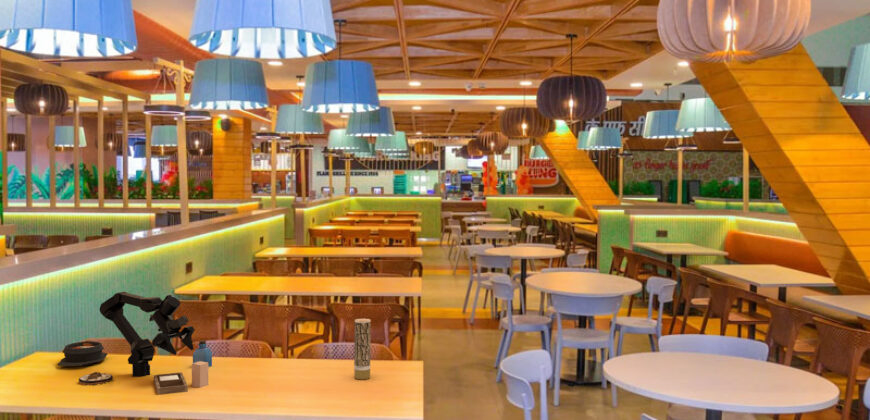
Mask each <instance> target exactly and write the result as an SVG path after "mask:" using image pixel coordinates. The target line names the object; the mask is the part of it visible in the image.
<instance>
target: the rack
mask: <svg viewBox="0 0 870 420" xmlns="http://www.w3.org/2000/svg"><path fill="white" fill-rule="evenodd" d="M172 375H178V378H179V379H173V380H163V381H159V377H161V376H172ZM153 383H154V386H155V390H156V393H157V396H159V395H167V394H168V395H169V394H178V393H179V394H180V393H187V392H188V391H189V388H188V387H189V386H188V384H187V381H186V378H185V376H184V374H183V371H181V372H172V373H159V374H153Z"/></svg>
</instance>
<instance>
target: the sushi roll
mask: <svg viewBox="0 0 870 420" xmlns="http://www.w3.org/2000/svg"><path fill="white" fill-rule="evenodd" d="M111 381H113V374H112V373H105V372H99V371H94V372H92V373H88V374H84V375H82V376H81V377H79V378H78V382H79V384H80V385H82V384H83V385H84V386H87V385H89V386H91V385H92V386H98V385H97V384H101V385H103V383H104V384H107V383H106V382H108V383H110V382H111Z"/></svg>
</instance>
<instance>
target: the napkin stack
mask: <svg viewBox="0 0 870 420" xmlns="http://www.w3.org/2000/svg"><path fill="white" fill-rule="evenodd" d="M173 379H179V378H178V375H172V376H161V377H159V381H163V380H173Z"/></svg>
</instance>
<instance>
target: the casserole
mask: <svg viewBox="0 0 870 420" xmlns="http://www.w3.org/2000/svg"><path fill="white" fill-rule="evenodd" d="M104 349H105V347H104V346H103V345H102V342H100V341H91V340H90V341H79V342H74V343H68V344H66V345H64V348H63V350H62V352H61V353H63V354H64V357H63V358H62V359H60V362H59V361H58V363H57V365H58V366H61V367H81V366H83V367H84V365H85V366H90V364H91V365H93V364H97V363H99V362H101V361H104V360H106V358H107V356H108V353H107V352H103V350H104Z"/></svg>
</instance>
